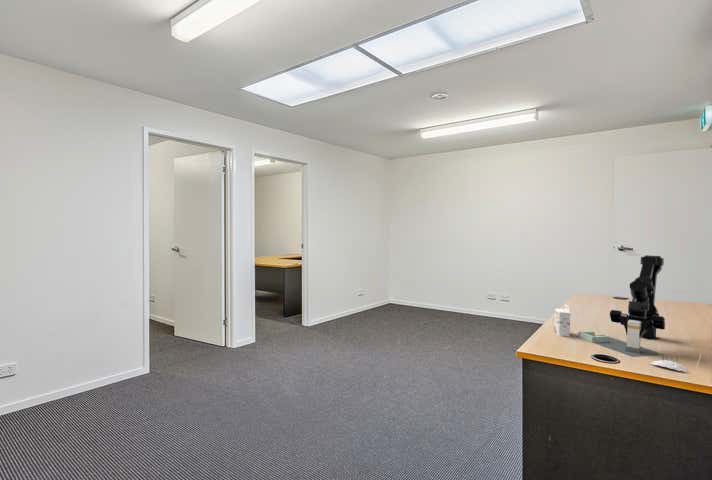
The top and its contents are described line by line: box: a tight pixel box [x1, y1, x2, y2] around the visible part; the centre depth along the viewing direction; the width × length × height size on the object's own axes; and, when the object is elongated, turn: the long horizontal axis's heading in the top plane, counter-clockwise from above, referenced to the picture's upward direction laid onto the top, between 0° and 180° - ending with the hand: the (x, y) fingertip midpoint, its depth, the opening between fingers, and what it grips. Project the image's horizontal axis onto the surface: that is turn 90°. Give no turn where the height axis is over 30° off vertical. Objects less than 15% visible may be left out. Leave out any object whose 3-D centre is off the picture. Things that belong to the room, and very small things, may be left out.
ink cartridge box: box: [553, 303, 571, 337], centre depth 189 cm, size 9×5×15 cm, turn 168°
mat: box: [574, 334, 666, 358], centre depth 172 cm, size 16×30×1 cm, turn 13°
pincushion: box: [649, 355, 691, 374], centre depth 144 cm, size 12×6×6 cm, turn 36°
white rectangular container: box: [626, 320, 642, 354], centre depth 163 cm, size 5×5×12 cm
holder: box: [577, 330, 610, 344], centre depth 180 cm, size 9×9×2 cm
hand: (633, 335), depth 162 cm, fingers closed on white rectangular container, 4 cm apart
